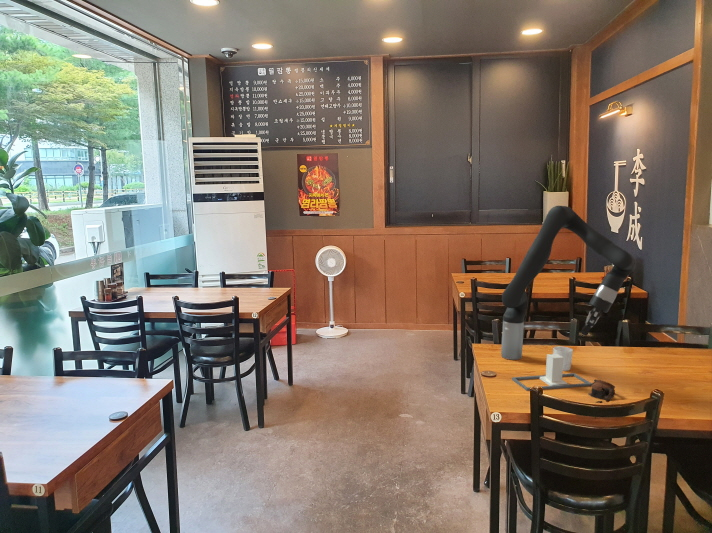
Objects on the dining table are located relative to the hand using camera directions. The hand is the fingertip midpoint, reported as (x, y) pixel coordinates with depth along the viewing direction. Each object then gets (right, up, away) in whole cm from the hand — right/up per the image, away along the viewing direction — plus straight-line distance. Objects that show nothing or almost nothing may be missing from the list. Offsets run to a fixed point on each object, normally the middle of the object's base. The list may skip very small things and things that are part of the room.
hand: (583, 333), depth 214 cm
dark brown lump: (+1, -23, -15) cm, 28 cm away
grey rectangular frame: (-14, -21, -2) cm, 25 cm away
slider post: (-13, -19, -2) cm, 23 cm away
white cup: (-3, -18, +15) cm, 24 cm away
